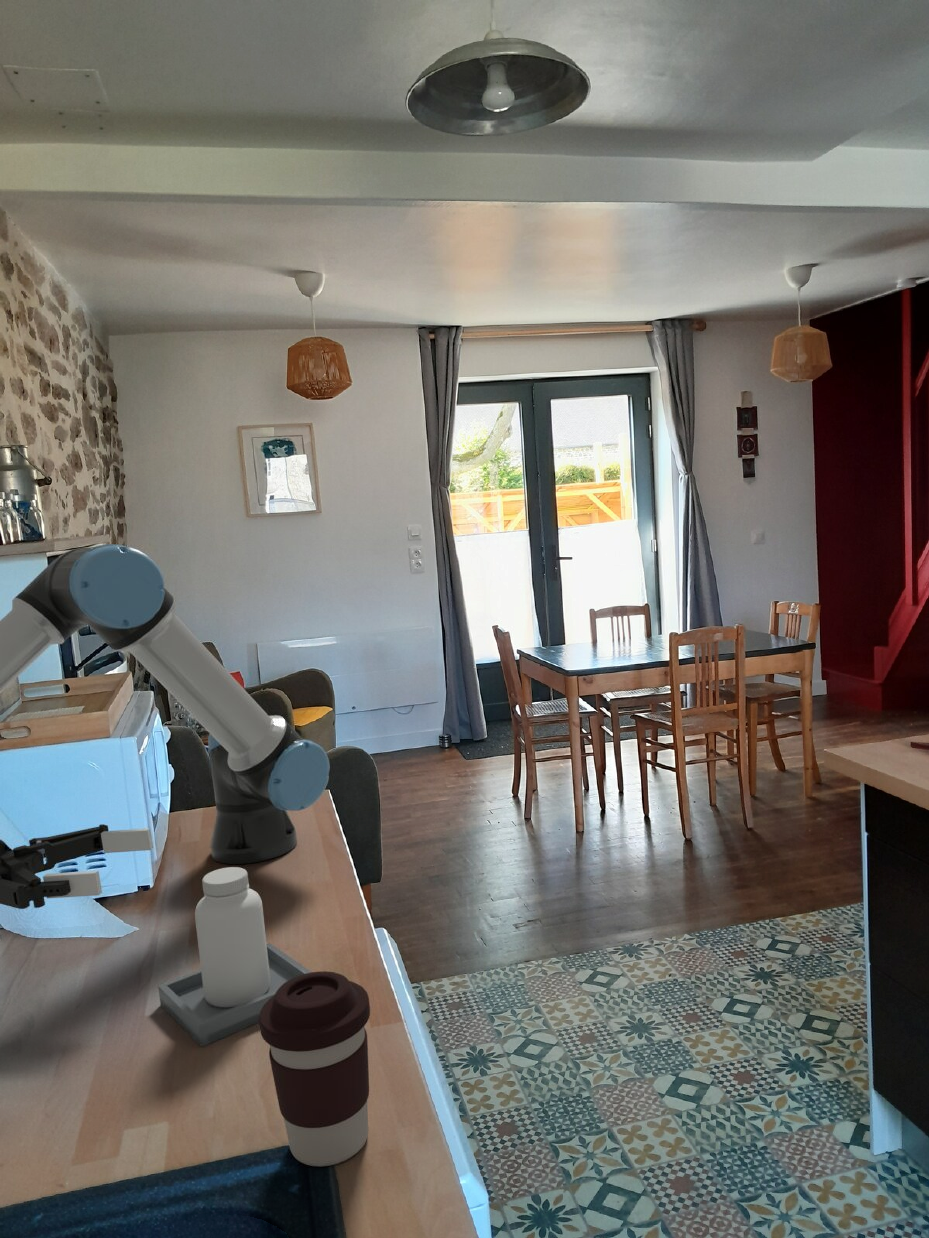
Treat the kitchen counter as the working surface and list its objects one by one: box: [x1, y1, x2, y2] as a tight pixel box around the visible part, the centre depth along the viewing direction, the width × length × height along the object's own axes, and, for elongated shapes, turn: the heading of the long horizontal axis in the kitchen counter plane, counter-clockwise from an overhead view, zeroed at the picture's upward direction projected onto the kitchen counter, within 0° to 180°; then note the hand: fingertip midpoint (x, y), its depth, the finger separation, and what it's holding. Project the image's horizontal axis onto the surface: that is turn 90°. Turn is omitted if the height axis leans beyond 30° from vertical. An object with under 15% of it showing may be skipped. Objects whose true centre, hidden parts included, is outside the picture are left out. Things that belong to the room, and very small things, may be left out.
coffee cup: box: [258, 970, 371, 1167], centre depth 85 cm, size 10×10×15 cm
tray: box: [157, 942, 312, 1048], centre depth 113 cm, size 15×13×2 cm
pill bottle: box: [194, 866, 270, 1007], centre depth 112 cm, size 8×8×15 cm
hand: (126, 859), depth 114 cm, fingers open, 13 cm apart
